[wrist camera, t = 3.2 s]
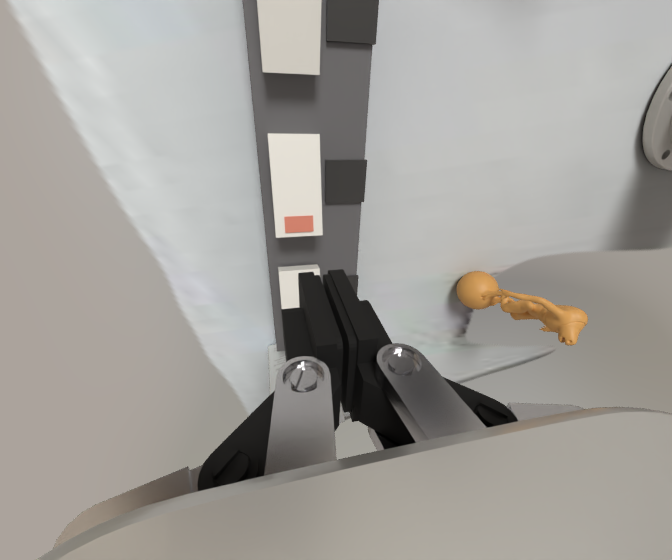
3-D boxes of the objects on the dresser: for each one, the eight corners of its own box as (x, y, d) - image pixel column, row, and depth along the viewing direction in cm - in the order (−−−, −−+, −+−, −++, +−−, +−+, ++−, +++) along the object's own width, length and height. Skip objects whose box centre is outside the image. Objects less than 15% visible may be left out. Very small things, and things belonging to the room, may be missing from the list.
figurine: (430, 276, 32) (507, 358, 22) (472, 232, 30) (577, 298, 20) (474, 308, 36) (557, 391, 26) (513, 270, 34) (620, 342, 24)
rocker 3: (317, 264, 23) (319, 268, 22) (319, 333, 25) (322, 340, 24) (278, 267, 23) (278, 271, 22) (283, 337, 25) (284, 344, 24)
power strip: (373, -308, 14) (412, -450, 10) (343, 316, 32) (353, 344, 29) (210, -357, 13) (189, -540, 9) (275, 324, 31) (277, 353, 27)
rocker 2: (316, 136, 19) (319, 133, 18) (319, 232, 21) (323, 235, 20) (267, 136, 18) (267, 133, 17) (275, 234, 20) (276, 238, 19)
